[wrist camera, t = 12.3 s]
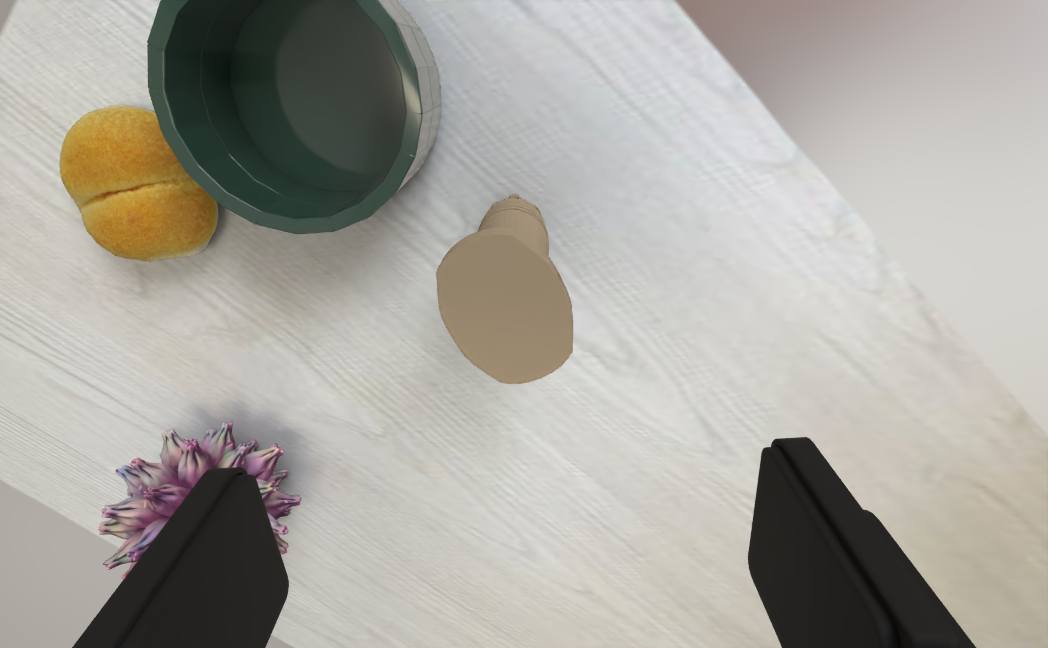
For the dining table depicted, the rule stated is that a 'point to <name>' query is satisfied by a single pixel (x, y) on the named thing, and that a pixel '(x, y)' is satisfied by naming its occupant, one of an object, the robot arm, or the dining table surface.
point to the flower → (188, 488)
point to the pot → (294, 104)
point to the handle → (507, 296)
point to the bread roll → (134, 187)
